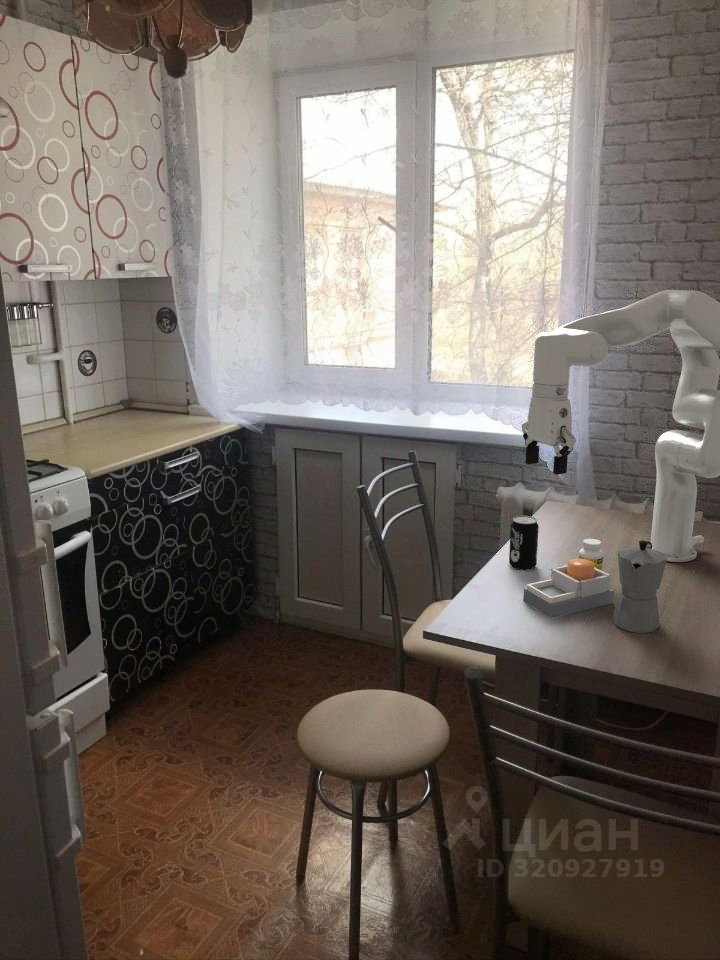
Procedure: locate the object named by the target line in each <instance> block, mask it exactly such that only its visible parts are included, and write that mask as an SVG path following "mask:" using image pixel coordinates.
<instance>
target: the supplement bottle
mask: <svg viewBox="0 0 720 960" xmlns="http://www.w3.org/2000/svg"><path fill="white" fill-rule="evenodd" d="M601 548H602V541H601V540H599V539H596V538H585V539H583V541H582V548H580V549H579V552H578V559H586V560H590V561H592V562H593V563H594V564H595V568H597V569H599V570H601V571H603V561H604V552H603V551H602V549H601Z"/></svg>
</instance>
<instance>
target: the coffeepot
mask: <svg viewBox="0 0 720 960" xmlns="http://www.w3.org/2000/svg"><path fill="white" fill-rule="evenodd" d="M638 543H639V546H637V547H636V546H635V547H633V546H627V547H624V548H622V549H619V550H618V551H617V557H618V558H617V559H618V560H617V561H618V572H619V573H618V574H619V582H620V584H621V588H620V589H621V590H620V591H619V593H618V597H617V600H616V604H615V607H614V610H613V614H612V620H613V624H614V625H615V626H616V627H617V628H619V629H621V630H624V631H627V632H630V633H636V634H648V633H653V632H655V631H656V629H658V628H660V616H659V615H660V613H659V603H658V597H657V590H659V589H660V586H661V583H662V579H663V576H664V573H665V568H666V564H667V562H668V561H667V558H666V557H665V555H664V554H663V553H662V552H659V551H656V550H652V543H651V540H650V541H648V540H639V541H638Z"/></svg>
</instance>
